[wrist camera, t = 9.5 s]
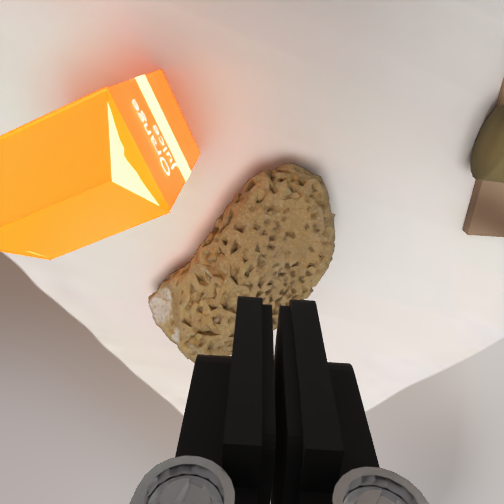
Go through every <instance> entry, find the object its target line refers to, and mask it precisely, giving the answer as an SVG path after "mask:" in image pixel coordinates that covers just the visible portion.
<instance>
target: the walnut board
mask: <svg viewBox="0 0 504 504" xmlns="http://www.w3.org/2000/svg"><path fill="white" fill-rule="evenodd" d="M502 104H504V79H503V83H502V87H501V90H500V94H499V98H498V101H497V105H496V108H497V107H498V106H500V105H502ZM463 231H464V232H465V233H466V234H467V235H480V236H496V237H504V183H502V182H493V181H485V180H477V179H476V182H475V186H474V189H473V193H472V197H471V200H470V204H469V208H468V211H467V215H466V219H465V222H464V226H463Z"/></svg>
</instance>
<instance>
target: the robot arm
mask: <svg viewBox="0 0 504 504" xmlns="http://www.w3.org/2000/svg"><path fill="white" fill-rule="evenodd" d="M270 499H271V504H429V503H428V502H427V500H426V499H425V497H424V496H423V494H422V493H421V492H420V491H419V490H418V489H417V488H416V487H415V486H414V485H413V484H412V483H411V482H410V481H408V480H407V479H405V478H403V477H402V476H400V475H398V474H397V473H395V472H392V471H389V470H386V469H383V468H380V467H379V464H378V460H377V456H376V453H375V449H374V445H373V441H372V437H371V434H370V430H369V426H368V422H367V419H366V415H365V411H364V407H363V404H362V400H361V396H360V392H359V389H358V385H357V381H356V377H355V374H354V370H353V367H352V365H351V364H348V363H332V362H327V358H326V353H325V348H324V343H323V337H322V332H321V327H320V322H319V317H318V312H317V306H316V302H315V301H309V300H293V299H290V300H289V306H283V305H280V306H279V314H278V324H277V335H276V345H275V355H274V350H273V317H272V305H267V304H263V298H261V297H245V296H238V299H237V309H236V319H235V329H234V339H233V349H232V356H220V355H203V354H198V355H197V357H196V361H195V365H194V370H193V375H192V380H191V384H190V389H189V394H188V399H187V403H186V408H185V413H184V418H183V423H182V427H181V433H180V437H179V442H178V447H177V451H176V456H175V458H170V459H168V460H166V461H164V462H162V463H160V464H158V465H156V466H155V467H154V468H153V469H151V470H150V471H149V472H148V473H147V474H146V475H145V476H144V477H143V479H142V481H141V482H140V484H139V485H138V487H137V488H136V491H135V493H134V495H133V497H132V499H131V502H130V504H270Z"/></svg>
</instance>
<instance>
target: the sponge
mask: <svg viewBox="0 0 504 504" xmlns="http://www.w3.org/2000/svg"><path fill="white" fill-rule="evenodd" d="M334 216H335V214H332V213H331V210H330V204H329V196H328V192H327V189H326V186H325V184H324V183H323V180H322V178H321V176H318V175H314V174H312V173H311V172H309V171H308V170H306V169H303V168H301V167H299V166H297V165H295V164H293V163H289V164H284V165H282V166H280V167H278V168H276V169H275V170H274V169H273V170H268V171H265V172H263V171H262V172H260V173H259V174H257V175H256V176H255V177H253V178H252V179H250V180H249V181H248V182H247V183H246V184H245V186H244V187H243V191H242V194H236V195H235V197H234V199H233V201H232V202H231V203H230V204H229V205H228V206H227V208H226V210H225V212H224V214H222V215H221V216H220V217H219V218H218V219H217V222H216V225H215V228H214V230H213V232H212V233H210V235H209V236H208V237H207V239H206V240H205V241H204V242H203V244H202V245H201V246H200V247H199V250H198V249H197V251H196V255H195V256H194V257H193V258H192V259H191V262H189V263H188V264H187V265H186V266H185V267H184V268H181V269H179V270H177V271H175V272H174V273H172V274H171V275H170V279H169V280H168V281H167V280H166V279H165V280H164V281H163V283H162V284H161V285H160V287H159V289H158V291H157V292H155V293H153V294H152V295H150V296H149V306H150V309H151V311H152V314H153V319H154V321H155V323H156V325H158V326H159V327H160V328H161V329H162V331H163V332H164V333H165V335H166V336H167V337H168V338H169V339H170V340H171V341H172V342H174V343H175V344H177V345H178V349H179V350H180V351H181V352H182V353H183V354H184V355H185V357H186V358H187V359H190V360H191V361H193V362H194V363H195V361H196V357H197V355H198V354H203V355H220V356H229V355H232V349H233V339H234V329H235V319H236V309H237V299H238V296H245V297H261V298H263V304H267V305H272V317H273V330H274V329H276V328H277V324H278V314H279V306H280V305H283V306H289V300H290V299H293V300H304V299H305V298H308V297H309V295H310V294H311V293H312V291H313V289H312V287H314V286H316V285H317V283H318V282H319V280H320V279H321V277H322V276H323V275H324V273H325V272H326V270H327V269H328V267H329V264H330V262H331V260H332V254H333V252H334V247H335V244H334V241H335V230H334Z"/></svg>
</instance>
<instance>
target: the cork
mask: <svg viewBox="0 0 504 504" xmlns="http://www.w3.org/2000/svg"><path fill="white" fill-rule="evenodd" d="M471 172H472V175H473V177H474V178H475V179H477V180H485V181H493V182H502V183H504V104H502V105H500V106H498V107H497V108H496V109H495V110H494V111H493V112H492V113H491V114H490V115H489V117H488V118H487V119H486V121H485V123H484V124H483V126H482V128H481V129H480V132H479V134H478V136H477V138H476V141H475V144H474V147H473V151H472V156H471Z"/></svg>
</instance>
